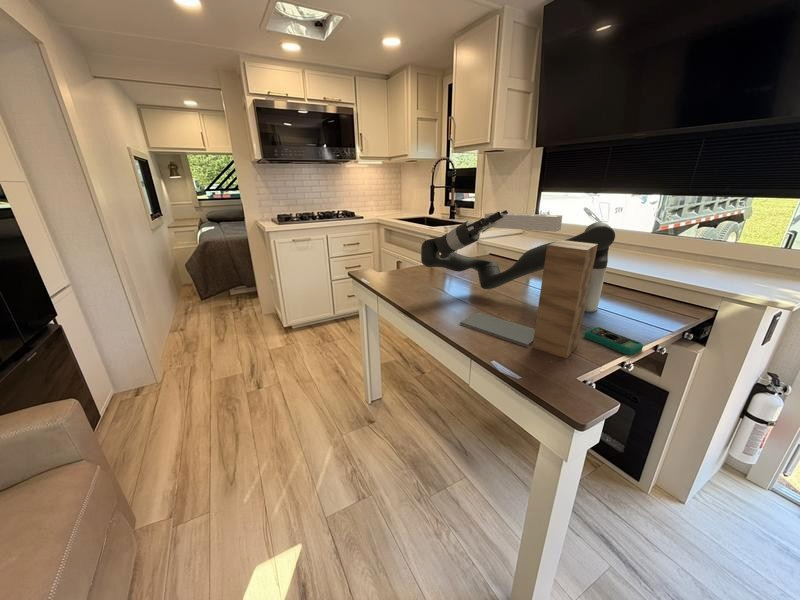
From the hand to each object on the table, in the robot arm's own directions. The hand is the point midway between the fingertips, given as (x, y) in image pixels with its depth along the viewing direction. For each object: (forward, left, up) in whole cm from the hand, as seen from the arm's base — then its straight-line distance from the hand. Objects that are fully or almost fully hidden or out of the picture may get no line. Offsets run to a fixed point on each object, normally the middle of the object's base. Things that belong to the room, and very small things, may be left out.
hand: (504, 213), depth 100 cm
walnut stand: (-1, +21, -39) cm, 44 cm away
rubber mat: (-1, +2, -39) cm, 39 cm away
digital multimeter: (-15, +33, -40) cm, 54 cm away
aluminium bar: (0, +5, -4) cm, 7 cm away
